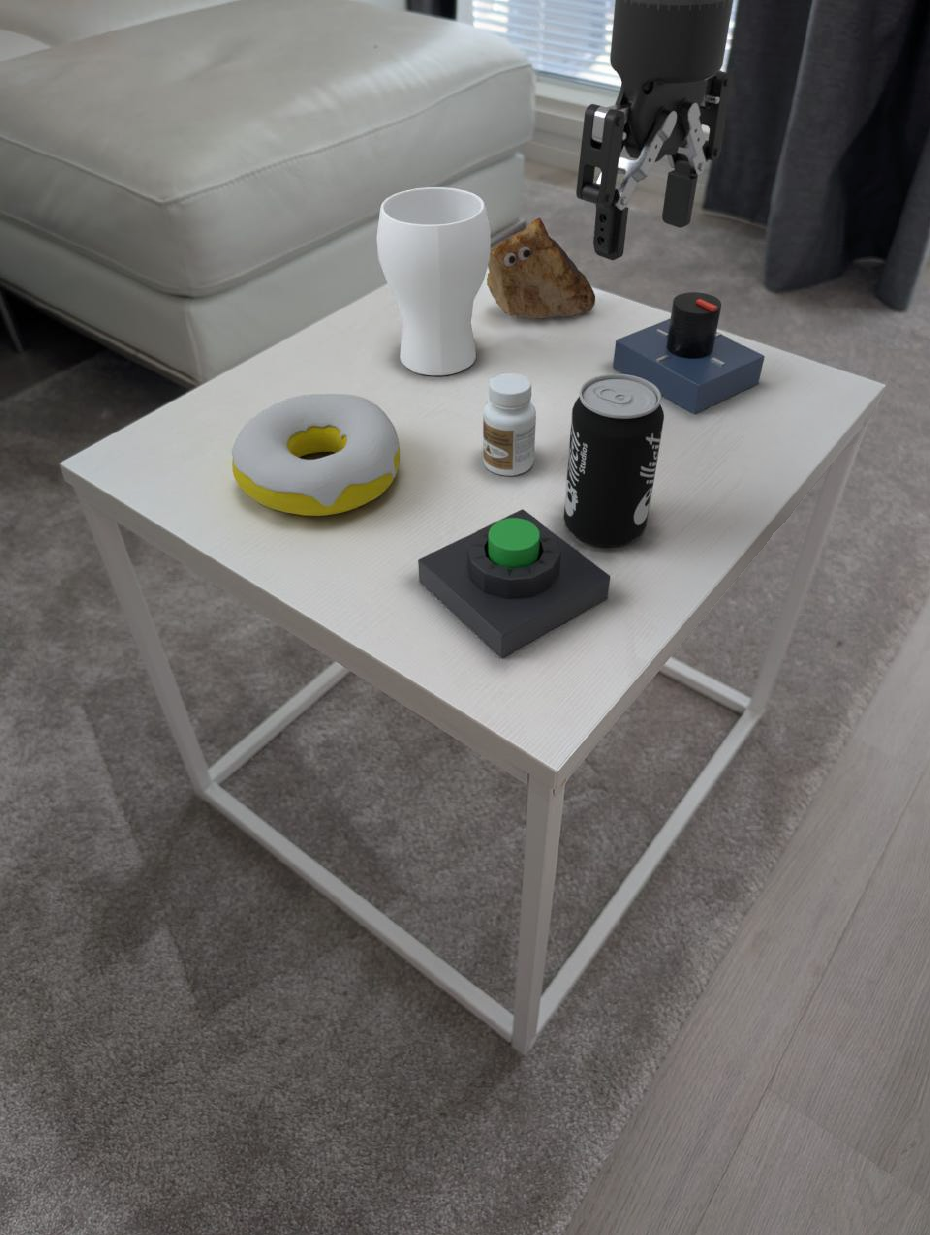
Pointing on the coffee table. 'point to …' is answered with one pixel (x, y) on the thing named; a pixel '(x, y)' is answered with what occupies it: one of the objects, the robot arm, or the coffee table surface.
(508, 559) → the button
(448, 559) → the button block
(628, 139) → the robot arm
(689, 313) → the program dial
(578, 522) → the beverage can
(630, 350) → the control panel
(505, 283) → the decorative rock
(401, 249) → the cup
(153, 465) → the coffee table surface
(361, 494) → the donut
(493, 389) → the pill bottle
